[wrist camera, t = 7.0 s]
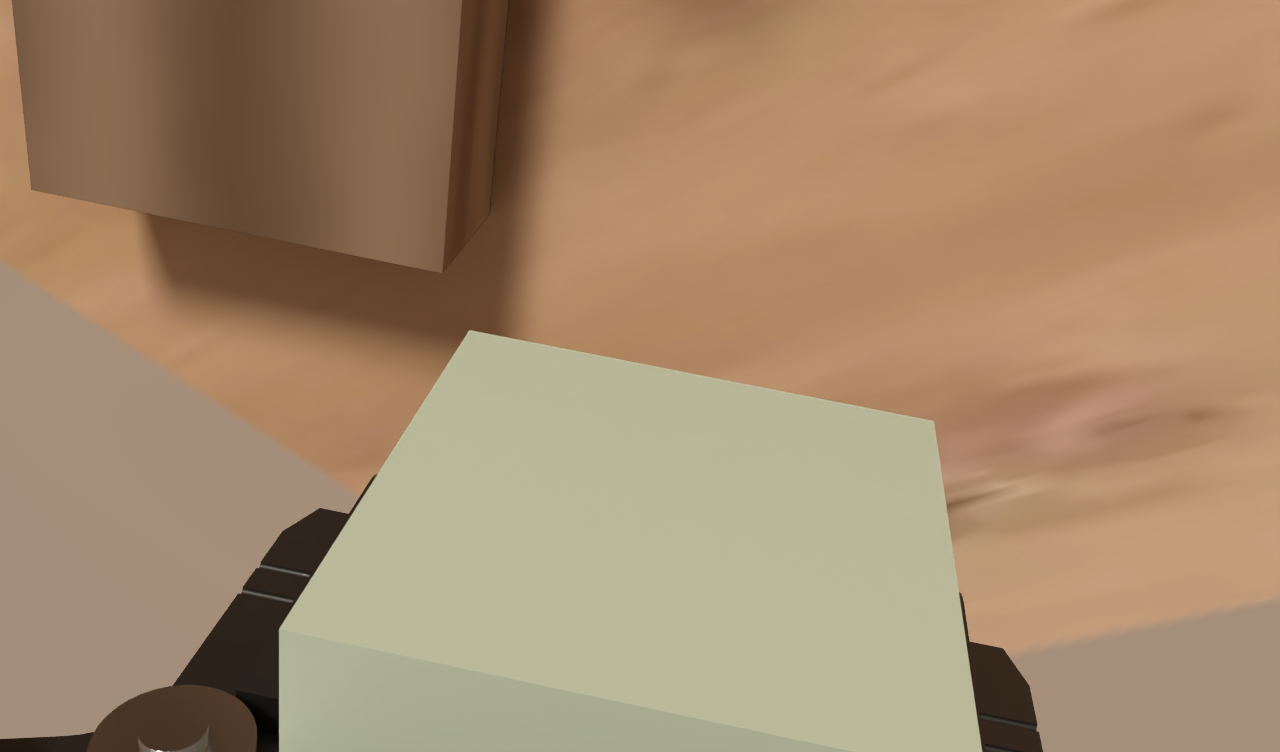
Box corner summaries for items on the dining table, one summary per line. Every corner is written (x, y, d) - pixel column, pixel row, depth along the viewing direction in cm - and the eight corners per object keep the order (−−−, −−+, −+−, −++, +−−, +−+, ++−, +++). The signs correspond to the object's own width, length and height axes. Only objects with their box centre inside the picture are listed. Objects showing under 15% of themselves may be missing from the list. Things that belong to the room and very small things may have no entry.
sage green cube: (933, 421, 13) (985, 780, 8) (829, 764, 15) (828, 1184, 11) (470, 330, 13) (279, 630, 8) (440, 679, 15) (279, 1055, 11)
